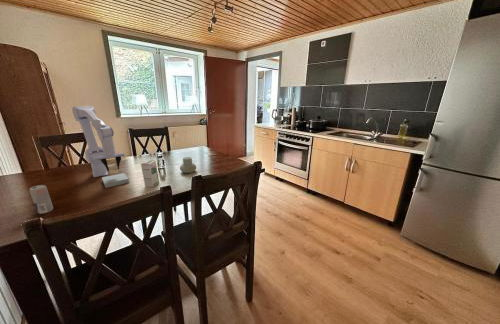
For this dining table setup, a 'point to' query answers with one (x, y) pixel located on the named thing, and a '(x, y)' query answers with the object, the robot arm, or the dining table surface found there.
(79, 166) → the dining table surface
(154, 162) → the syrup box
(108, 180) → the grey-blue block
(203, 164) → the dining table surface
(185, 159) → the air freshener
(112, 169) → the birch cube
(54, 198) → the dining table surface
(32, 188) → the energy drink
